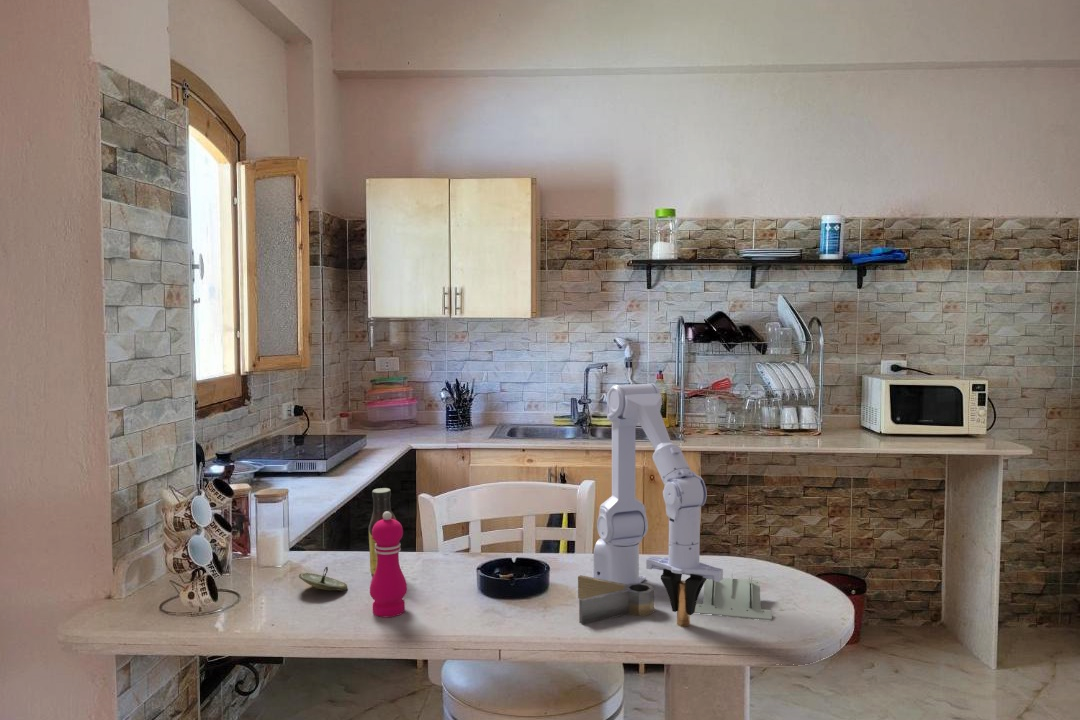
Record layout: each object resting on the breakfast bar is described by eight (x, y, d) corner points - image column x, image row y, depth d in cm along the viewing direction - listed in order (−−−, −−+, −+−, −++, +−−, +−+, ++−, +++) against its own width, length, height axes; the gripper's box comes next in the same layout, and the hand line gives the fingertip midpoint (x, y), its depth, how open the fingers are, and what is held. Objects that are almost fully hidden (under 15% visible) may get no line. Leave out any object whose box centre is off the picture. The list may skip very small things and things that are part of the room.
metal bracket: (695, 566, 168) (769, 571, 165) (695, 589, 170) (769, 595, 167) (691, 609, 155) (772, 616, 152) (691, 634, 157) (771, 641, 154)
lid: (290, 589, 171) (289, 566, 170) (333, 579, 177) (332, 556, 177) (312, 603, 163) (312, 579, 162) (356, 591, 169) (356, 568, 169)
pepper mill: (413, 606, 161) (412, 508, 159) (395, 620, 154) (394, 517, 152) (382, 602, 163) (380, 505, 162) (363, 615, 156) (361, 514, 155)
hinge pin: (674, 624, 151) (675, 583, 151) (679, 620, 153) (680, 579, 153) (686, 627, 150) (687, 585, 149) (691, 623, 152) (692, 581, 151)
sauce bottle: (385, 571, 182) (384, 484, 181) (405, 576, 178) (403, 488, 177) (363, 579, 177) (361, 490, 175) (383, 585, 173) (381, 494, 172)
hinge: (549, 616, 155) (549, 593, 155) (585, 593, 168) (585, 572, 168) (625, 634, 147) (625, 610, 147) (657, 608, 159) (657, 586, 159)
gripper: (639, 540, 151) (639, 610, 152) (714, 552, 143) (713, 626, 144) (654, 531, 157) (654, 599, 158) (727, 542, 149) (726, 613, 150)
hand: (683, 611), depth 151 cm, fingers closed on hinge pin, 2 cm apart
